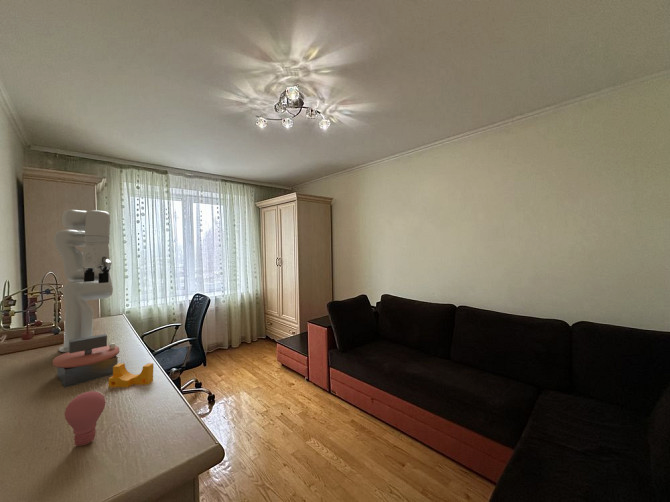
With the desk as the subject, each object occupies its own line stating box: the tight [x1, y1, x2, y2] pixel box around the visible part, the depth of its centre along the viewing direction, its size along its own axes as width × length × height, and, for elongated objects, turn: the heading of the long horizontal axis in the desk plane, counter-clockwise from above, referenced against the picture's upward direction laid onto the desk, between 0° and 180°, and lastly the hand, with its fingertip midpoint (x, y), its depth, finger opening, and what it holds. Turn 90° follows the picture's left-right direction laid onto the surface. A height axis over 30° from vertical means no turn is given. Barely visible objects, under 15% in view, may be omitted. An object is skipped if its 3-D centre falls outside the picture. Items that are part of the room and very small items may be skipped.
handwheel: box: [52, 333, 120, 368], centre depth 97 cm, size 18×18×7 cm
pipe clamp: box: [107, 362, 154, 388], centre depth 91 cm, size 12×4×6 cm, turn 92°
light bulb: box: [64, 390, 106, 446], centre depth 63 cm, size 7×7×12 cm
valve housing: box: [56, 355, 119, 389], centre depth 97 cm, size 14×14×6 cm
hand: (96, 282), depth 107 cm, fingers open, 9 cm apart
